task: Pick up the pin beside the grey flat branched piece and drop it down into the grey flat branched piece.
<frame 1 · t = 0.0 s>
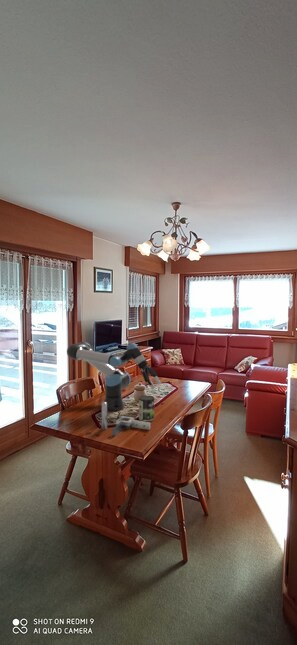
hand: (156, 386, 227), 15 cm above the table, tool tilted 35°, fingers open, 13 cm apart
coffee can: (146, 418, 205), on the table
grey flat branched piece: (125, 425, 192), on the table
pin: (104, 428, 187), on the table
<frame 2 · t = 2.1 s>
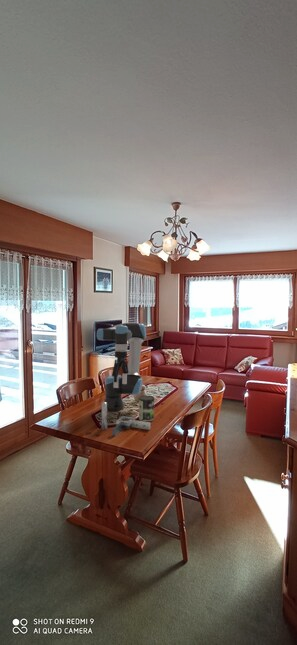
hand: (120, 385, 188), 26 cm above the table, tool pointing down, fingers open, 13 cm apart
nothing on the table moved.
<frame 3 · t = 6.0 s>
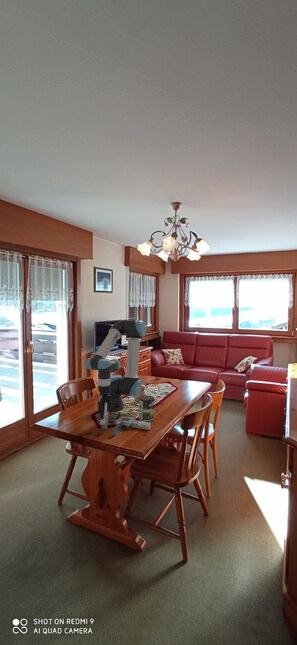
hand: (104, 422, 187), 4 cm above the table, tool pointing down, fingers closed on pin, 3 cm apart
pin: (104, 428, 188), on the table, touching gripper
everything else where it was.
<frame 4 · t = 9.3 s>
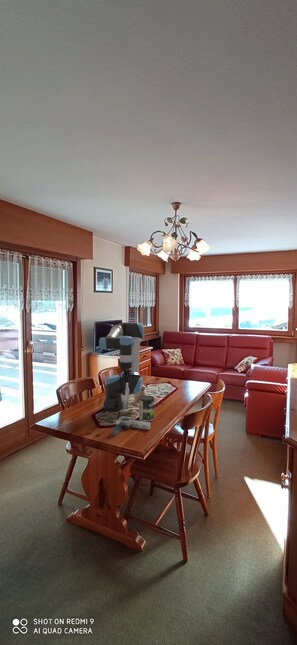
hand: (125, 398, 191), 17 cm above the table, tool pointing down, fingers closed on pin, 3 cm apart
pin: (125, 408, 192), point 11 cm above the table, touching gripper
everything else where it was.
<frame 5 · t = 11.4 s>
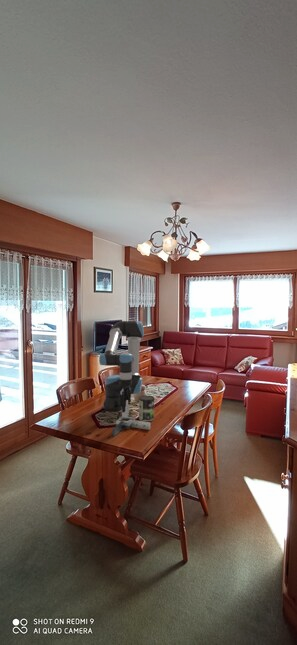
hand: (125, 415, 192), 6 cm above the table, tool pointing down, fingers closed on pin, 3 cm apart
pin: (125, 425, 192), resting in grey flat branched piece, touching gripper
everything else where it was.
when the fingers open (6 cm above the table, at t = 12.6 s): pin stays where it is, resting in grey flat branched piece.
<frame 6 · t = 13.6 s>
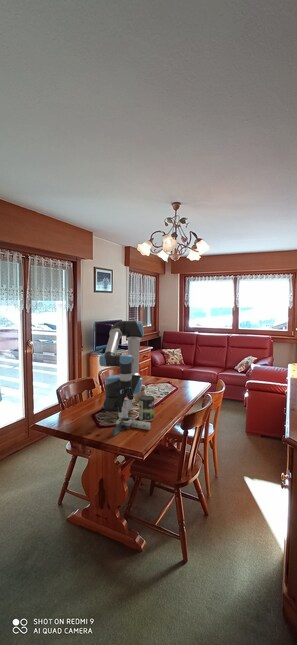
hand: (125, 413, 192), 8 cm above the table, tool pointing down, fingers open, 13 cm apart
pin: (125, 425, 192), resting in grey flat branched piece
everything else where it was.
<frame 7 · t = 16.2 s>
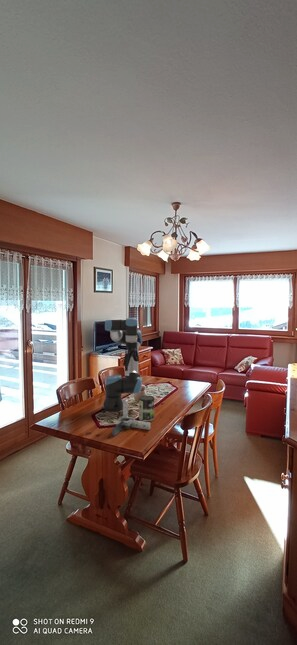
hand: (131, 373, 205), 30 cm above the table, tool pointing down, fingers open, 13 cm apart
nothing on the table moved.
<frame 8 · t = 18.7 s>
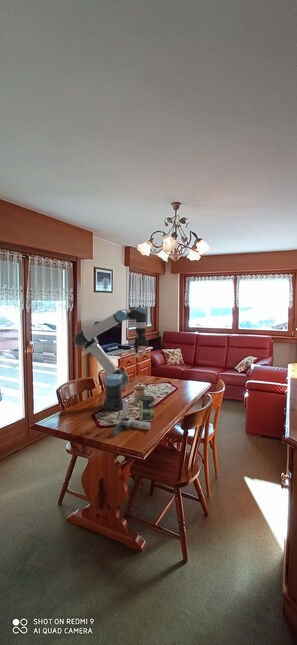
hand: (140, 355, 232), 37 cm above the table, tool pointing down, fingers open, 13 cm apart
nothing on the table moved.
at the end: pin 0.1 cm off-centre on the grey flat branched piece, point 0.0 cm above the grey flat branched piece's base; pin tilted 0°; the gripper is holding nothing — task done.
